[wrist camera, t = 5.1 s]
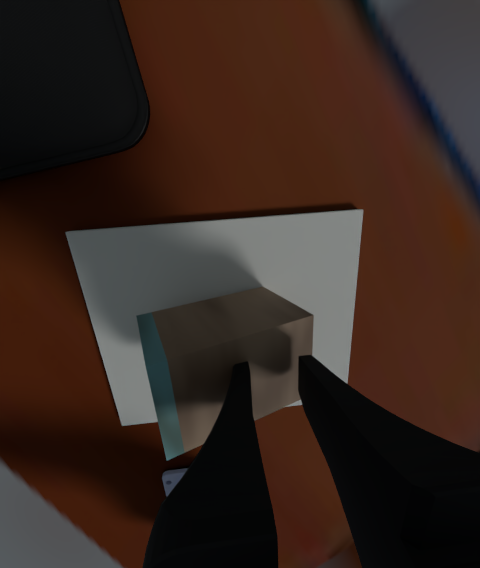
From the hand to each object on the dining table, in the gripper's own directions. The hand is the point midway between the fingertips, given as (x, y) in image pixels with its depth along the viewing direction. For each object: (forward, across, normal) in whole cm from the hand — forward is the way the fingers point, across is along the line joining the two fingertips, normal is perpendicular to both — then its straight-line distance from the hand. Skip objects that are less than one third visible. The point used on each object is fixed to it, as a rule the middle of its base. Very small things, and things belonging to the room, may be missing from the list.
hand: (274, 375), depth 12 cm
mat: (+7, +2, +1) cm, 7 cm away
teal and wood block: (+4, -1, 0) cm, 4 cm away
